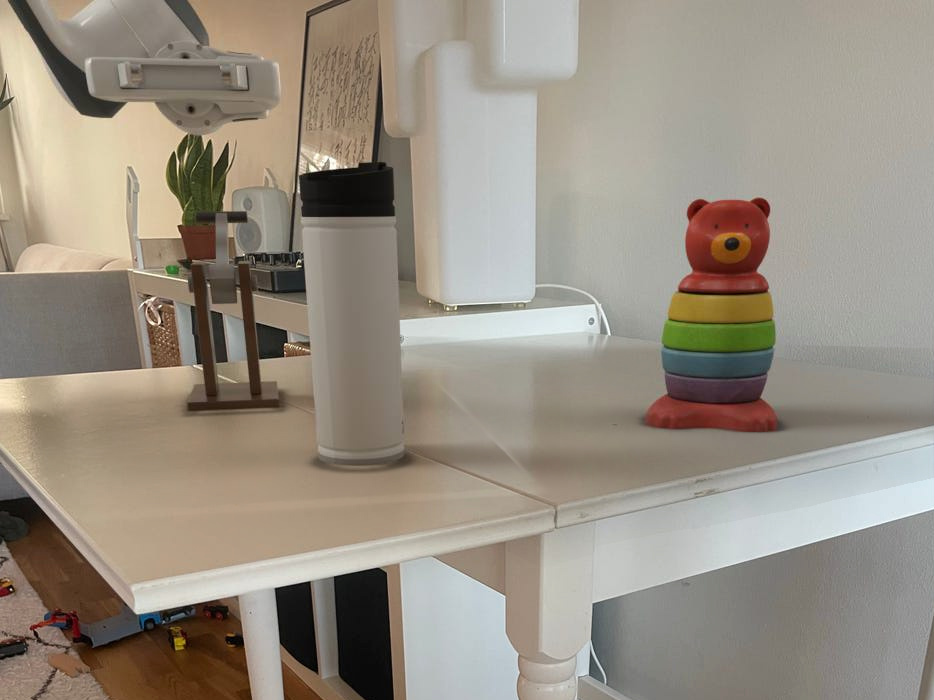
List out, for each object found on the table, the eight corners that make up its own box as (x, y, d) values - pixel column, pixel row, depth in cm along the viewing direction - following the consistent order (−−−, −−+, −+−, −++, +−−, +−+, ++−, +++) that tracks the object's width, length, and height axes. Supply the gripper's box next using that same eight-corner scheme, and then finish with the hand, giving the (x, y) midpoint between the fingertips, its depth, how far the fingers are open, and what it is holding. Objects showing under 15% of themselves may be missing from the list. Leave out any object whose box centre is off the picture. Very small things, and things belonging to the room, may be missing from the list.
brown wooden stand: (195, 399, 96) (178, 260, 90) (278, 396, 97) (266, 259, 92) (189, 419, 87) (169, 266, 81) (280, 415, 88) (266, 264, 83)
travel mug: (424, 460, 72) (415, 161, 64) (370, 480, 67) (354, 157, 59) (357, 450, 75) (341, 163, 67) (301, 468, 70) (276, 160, 62)
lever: (197, 227, 97) (194, 202, 96) (248, 226, 98) (246, 202, 97) (196, 304, 87) (192, 279, 85) (253, 303, 88) (250, 277, 86)
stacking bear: (643, 431, 81) (659, 197, 74) (651, 408, 90) (665, 198, 83) (777, 436, 79) (806, 196, 72) (771, 413, 88) (797, 197, 81)
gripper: (90, 53, 108) (68, 33, 96) (276, 57, 112) (278, 38, 100) (99, 117, 111) (79, 105, 99) (281, 118, 115) (283, 108, 102)
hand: (180, 72), depth 99 cm, fingers open, 8 cm apart
